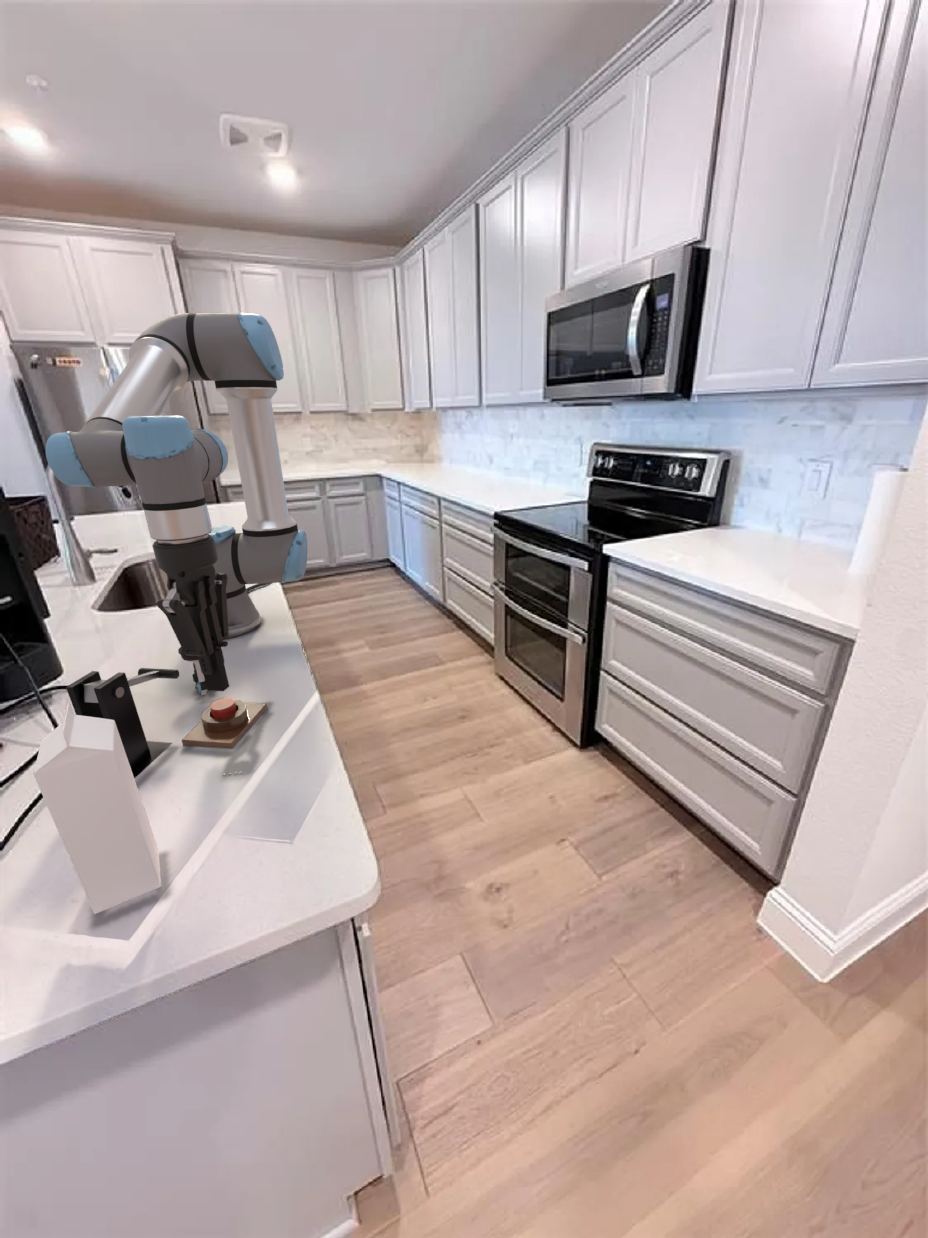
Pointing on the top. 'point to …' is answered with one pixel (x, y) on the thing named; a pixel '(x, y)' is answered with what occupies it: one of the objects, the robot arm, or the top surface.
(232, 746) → the button block
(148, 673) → the switch lever
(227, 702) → the button
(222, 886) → the top surface
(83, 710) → the switch bracket
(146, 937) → the top surface
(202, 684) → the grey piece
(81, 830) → the milk
